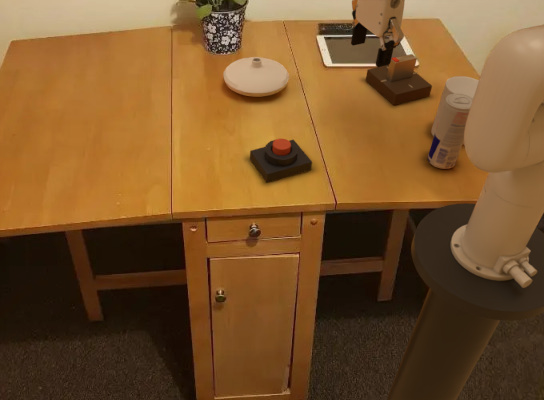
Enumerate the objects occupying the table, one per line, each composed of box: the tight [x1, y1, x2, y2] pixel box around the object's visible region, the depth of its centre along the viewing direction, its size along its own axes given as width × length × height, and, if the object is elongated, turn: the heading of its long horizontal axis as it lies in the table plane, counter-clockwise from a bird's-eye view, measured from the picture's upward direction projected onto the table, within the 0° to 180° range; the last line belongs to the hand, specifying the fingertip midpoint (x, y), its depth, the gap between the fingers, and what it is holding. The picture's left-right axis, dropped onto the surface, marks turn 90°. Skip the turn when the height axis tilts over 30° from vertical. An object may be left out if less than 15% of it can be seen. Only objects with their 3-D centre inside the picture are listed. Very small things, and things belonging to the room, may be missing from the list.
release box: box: [249, 138, 313, 183], centre depth 118 cm, size 10×8×4 cm
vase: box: [223, 56, 290, 97], centre depth 138 cm, size 16×16×7 cm
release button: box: [272, 138, 291, 156], centre depth 116 cm, size 4×4×2 cm
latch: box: [386, 53, 418, 82], centre depth 136 cm, size 6×2×5 cm, turn 112°
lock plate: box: [365, 65, 433, 106], centre depth 139 cm, size 12×10×3 cm
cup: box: [430, 75, 479, 146], centre depth 123 cm, size 8×8×12 cm
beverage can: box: [427, 93, 473, 170], centre depth 115 cm, size 6×6×15 cm
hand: (369, 54), depth 122 cm, fingers open, 9 cm apart
